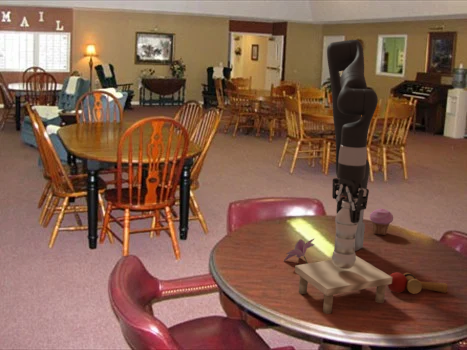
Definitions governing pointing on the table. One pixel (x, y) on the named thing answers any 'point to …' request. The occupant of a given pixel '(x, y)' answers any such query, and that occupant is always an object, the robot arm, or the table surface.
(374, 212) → the cupcake
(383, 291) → the footstool
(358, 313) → the table surface
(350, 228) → the plastic bottle
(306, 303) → the table surface
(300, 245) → the lily
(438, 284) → the kendama
